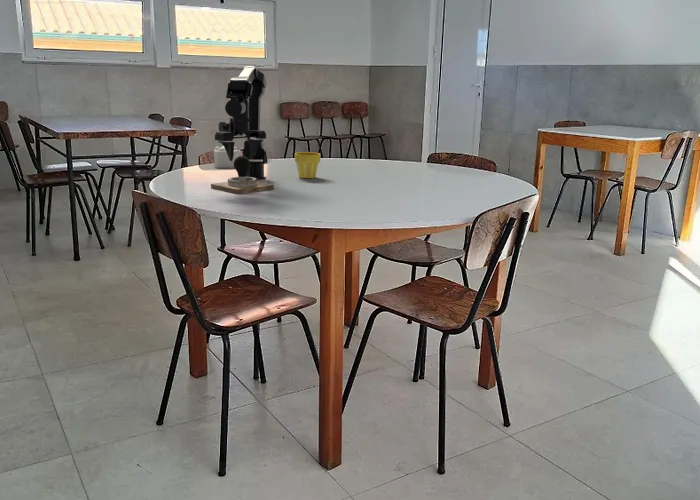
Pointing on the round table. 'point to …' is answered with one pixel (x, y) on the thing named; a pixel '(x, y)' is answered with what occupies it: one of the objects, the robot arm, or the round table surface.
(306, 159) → the plant pot
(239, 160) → the light bulb
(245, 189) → the socket base
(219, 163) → the lumpy-topped squat cylinder
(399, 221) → the round table surface
